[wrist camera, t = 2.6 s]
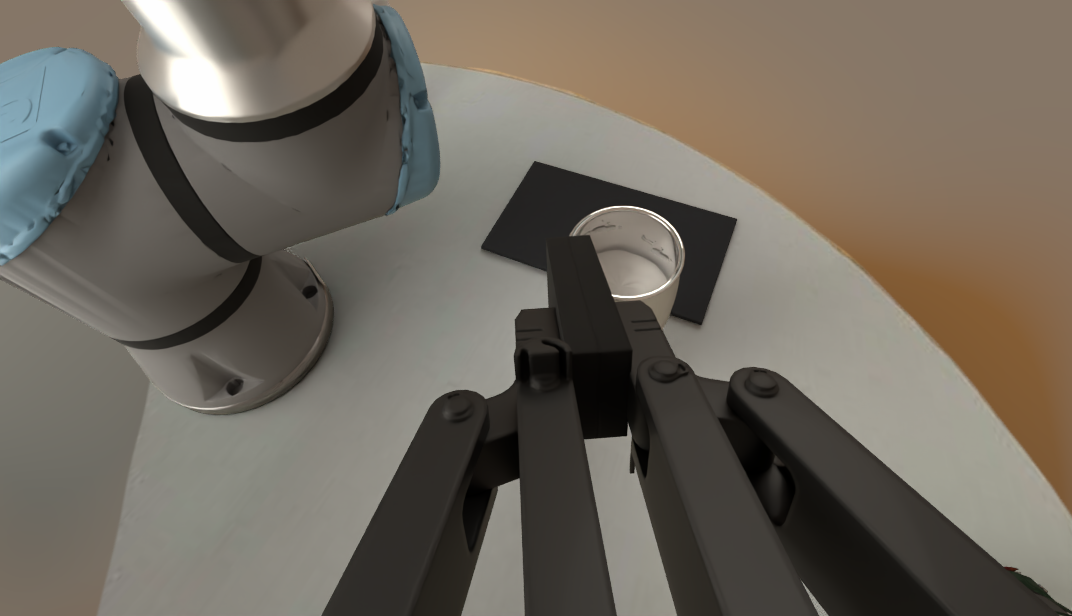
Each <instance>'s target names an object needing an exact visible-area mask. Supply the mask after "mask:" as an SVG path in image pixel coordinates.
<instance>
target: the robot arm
mask: <svg viewBox="0 0 1072 616" xmlns="http://www.w3.org/2000/svg"><path fill="white" fill-rule="evenodd" d="M121 2H122V3H123V4H124V5H125V6H126V8H127V9H128V10H129V11H130V13H131V14H132V15H133V16H134V18H135V19H136V20H137V21H138V22H139V24H140V25H141V29H140V34H139V38H138V42H137V63H138V67H139V70H140V73H141V74H139V75H136V76H132V77H129V78H124V79H118V77H117V76H116V74H115V71H114V70H113V69H112V67H111V66H110V65H108V64H107V63H105V62H103V61H101V60H99V59H98V58H96V57H95V56H93V55H92V54H90V53H88V52H86V51H84V50H81V49H77V48H69V49H66V48H60V47H52V48H45V49H39V50H36V51H33V52H29V53H26V54H23V55H20V56H18V57H15V58H13V59H10V60H8V61H6V62H4V63H1V64H0V280H2V281H4V282H6V283H8V284H10V285H12V286H13V287H15V288H17V289H19V290H21V291H23V292H25V293H27V294H29V295H30V296H32V297H34V298H36V299H38V300H40V301H42V302H44V303H46V304H48V305H49V306H51V307H53V308H55V309H57V310H59V311H61V312H63V313H65V314H67V315H68V316H70V317H72V318H74V319H76V320H78V321H80V322H82V323H84V324H86V325H87V326H89V327H91V328H93V329H95V330H97V331H99V332H101V333H103V334H105V335H107V336H109V337H111V338H112V339H114V340H116V341H118V342H120V343H121V344H123V345H124V346H125V347H126V349H127V350H128V351H129V353H130V354H131V355H132V357H133V358H134V359H135V361H136V362H137V363H138V365H139V366H140V367H141V369H142V370H143V371H144V373H145V374H146V376H147V377H148V378H149V380H150V381H151V382H152V383H153V385H154V386H155V387H156V388H157V389H158V390H159V391H160V392H161V393H162V394H164V395H165V396H166V397H167V398H169V399H170V400H172V401H174V402H176V403H178V404H180V405H182V406H184V407H186V408H189V409H191V410H193V411H196V412H200V413H205V414H213V415H226V414H234V413H239V412H244V411H247V410H250V409H254V408H256V407H259V406H261V405H264V404H266V403H268V402H270V401H272V400H273V399H275V398H277V397H279V396H280V395H282V394H283V393H285V392H286V391H288V390H289V389H290V388H291V387H293V386H294V385H295V384H296V383H298V382H299V381H300V380H301V379H302V378H303V377H304V376H305V375H306V374H307V373H308V371H309V370H310V369H311V368H312V367H313V365H314V364H315V363H316V361H317V360H318V358H319V357H320V355H321V354H322V352H323V350H324V348H325V346H326V344H327V342H328V339H329V337H330V334H331V330H332V326H333V318H334V307H333V301H332V297H331V294H330V291H329V289H328V287H327V286H326V284H325V283H324V281H323V280H322V279H321V277H320V276H319V275H318V273H317V272H316V270H315V269H314V267H313V266H312V264H311V262H309V261H308V260H307V259H306V258H305V257H304V258H305V259H306V261H307V262H308V264H307V263H306V262H305V261H303V260H302V259H300V258H299V257H297V256H295V255H293V254H292V253H290V252H288V251H286V250H284V248H287V247H290V246H293V245H296V244H299V243H302V242H305V241H308V240H311V239H314V238H317V237H320V236H323V235H326V234H329V233H332V232H335V231H338V230H341V229H344V228H348V227H351V226H354V225H357V224H360V223H363V222H366V221H369V220H372V219H375V218H378V217H381V216H384V215H386V216H387V215H391V214H393V213H394V212H396V211H397V210H398V209H399V208H400V207H403V206H405V205H408V204H410V203H412V202H415V201H417V200H420V199H422V198H424V197H426V196H428V195H429V194H430V193H431V192H432V191H433V190H434V188H435V187H436V185H437V182H438V180H439V175H440V151H439V143H438V136H437V130H436V124H435V120H434V115H433V111H432V108H431V105H430V103H429V101H428V100H427V96H428V95H427V89H426V84H425V79H424V75H423V71H422V68H421V65H420V62H419V58H418V55H417V53H416V50H415V47H414V44H413V42H412V39H411V36H410V34H409V32H408V30H407V28H406V26H405V24H404V22H403V20H402V18H401V16H400V15H399V14H398V12H397V11H396V10H395V9H393V8H392V7H390V6H379V5H375V4H372V1H371V0H121ZM546 256H547V280H548V305H549V308H538V309H524V310H521V311H520V313H519V314H518V316H517V317H516V319H515V332H516V333H515V334H516V350H515V353H514V363H515V375H516V380H515V382H514V383H513V385H512V386H511V387H510V388H509V389H508V390H506V391H505V392H503V393H501V394H499V395H496V396H494V397H491V398H488V399H485V398H484V397H483V396H481V395H480V394H478V393H477V392H473V391H469V390H456V391H452V392H449V393H446V394H444V395H442V396H441V397H439V398H438V399H436V400H435V401H434V403H433V404H432V405H431V406H430V408H429V410H428V412H427V414H426V415H425V417H424V419H423V421H422V423H421V425H420V427H419V429H418V431H417V433H416V435H415V437H414V439H413V440H412V442H411V444H410V446H409V448H408V450H407V452H406V454H405V456H404V458H403V460H402V462H401V464H400V466H399V467H398V469H397V471H396V473H395V475H394V477H393V479H392V481H391V483H390V485H389V487H388V489H387V491H386V492H385V494H384V496H383V498H382V500H381V502H380V504H379V506H378V508H377V510H376V512H375V514H374V516H373V517H372V519H371V521H370V523H369V525H368V527H367V529H366V531H365V533H364V535H363V537H362V539H361V541H360V543H359V544H358V546H357V548H356V550H355V552H354V554H353V556H352V558H351V560H350V562H349V564H348V566H347V568H346V569H345V571H344V573H343V575H342V577H341V579H340V581H339V583H338V585H337V587H336V589H335V591H334V593H333V595H332V596H331V598H330V600H329V602H328V604H327V606H326V608H325V610H324V612H323V614H322V616H461V614H462V611H463V607H464V604H465V600H466V597H467V594H468V590H469V587H470V583H471V580H472V577H473V573H474V570H475V566H476V563H477V559H478V556H479V553H480V549H481V546H482V542H483V539H484V536H485V532H486V529H487V525H488V522H489V519H490V515H491V512H492V508H493V505H494V502H495V498H496V495H497V491H498V486H500V485H503V484H505V483H508V482H510V481H513V480H516V479H518V478H520V495H521V522H522V548H523V575H524V602H525V616H617V614H616V609H615V603H614V598H613V593H612V587H611V582H610V577H609V571H608V566H607V561H606V556H605V550H604V545H603V540H602V534H601V529H600V524H599V518H598V513H597V508H596V502H595V497H594V492H593V486H592V481H591V476H590V470H589V465H588V460H587V454H586V449H585V444H584V439H594V438H607V437H620V436H627V428H628V423H629V427H630V430H631V433H632V441H631V455H630V473H634V470H635V467H636V470H637V474H638V478H639V481H640V485H641V488H642V492H643V495H644V499H645V502H646V506H647V509H648V513H649V517H650V520H651V524H652V527H653V531H654V534H655V538H656V541H657V545H658V549H659V552H660V556H661V559H662V563H663V566H664V570H665V573H666V577H667V581H668V584H669V588H670V591H671V595H672V598H673V602H674V605H675V609H676V612H677V616H819V615H818V613H817V611H816V609H815V607H814V605H813V603H812V601H811V599H810V597H809V595H808V593H807V591H806V589H805V588H804V586H803V584H802V582H803V583H804V584H805V586H806V587H807V588H808V589H809V591H810V592H811V593H812V595H813V596H814V597H815V598H816V600H817V601H818V602H819V604H820V605H821V606H822V608H823V609H824V610H825V611H826V613H827V614H828V615H829V616H1060V615H1059V614H1057V613H1056V612H1055V611H1054V610H1053V609H1052V608H1050V607H1049V606H1048V605H1047V604H1046V603H1045V602H1044V601H1042V600H1041V599H1040V598H1039V597H1038V596H1037V595H1035V594H1034V593H1033V592H1032V591H1031V590H1030V589H1029V588H1027V587H1026V586H1025V585H1024V584H1023V583H1022V582H1020V581H1019V580H1018V579H1017V578H1016V577H1015V576H1013V575H1012V574H1011V573H1010V572H1009V571H1008V570H1007V569H1005V568H1004V567H1003V566H1002V565H1001V564H1000V563H998V562H997V561H996V560H995V559H994V558H993V557H992V556H990V555H989V554H988V553H987V552H986V551H985V550H983V549H982V548H981V547H980V546H979V545H978V544H976V543H975V542H974V541H973V540H972V539H971V538H970V537H968V536H967V535H966V534H965V533H964V532H963V531H961V530H960V529H959V528H958V527H957V526H956V525H954V524H953V523H952V522H951V521H950V520H949V519H948V518H946V517H945V516H944V515H943V514H942V513H941V512H939V511H938V510H937V509H936V508H935V507H934V506H933V505H931V504H930V503H929V502H928V501H927V500H926V499H924V498H923V497H922V496H921V495H920V494H919V493H917V492H916V491H915V490H914V489H913V488H912V487H911V486H909V485H908V484H907V483H906V482H905V481H904V480H902V479H901V478H900V477H899V476H898V475H897V474H896V473H894V472H893V471H892V470H891V469H890V468H889V467H887V466H886V465H885V464H884V463H883V462H882V461H880V460H879V459H878V458H877V457H876V456H875V455H874V454H872V453H871V452H870V451H869V450H868V449H867V448H865V447H864V446H863V445H862V444H861V443H860V442H859V441H857V440H856V439H855V438H854V437H853V436H852V435H850V434H849V433H848V432H847V431H846V430H845V429H843V428H842V427H841V426H840V425H839V424H838V423H837V422H835V421H834V420H833V419H832V418H831V417H830V416H828V415H827V414H826V413H825V412H824V411H823V410H822V409H820V408H819V407H818V406H817V405H816V404H815V403H813V402H812V401H811V400H810V399H809V398H808V397H806V396H805V395H804V394H803V393H802V392H801V391H800V390H798V389H797V388H796V387H795V386H794V385H793V384H791V383H790V382H789V381H788V380H787V379H785V378H784V377H782V376H781V375H779V374H778V373H776V372H773V371H770V370H767V369H764V368H757V367H749V368H742V369H740V370H738V371H735V372H734V373H733V375H732V376H731V378H730V382H727V381H720V380H713V379H708V378H703V377H700V376H697V375H695V373H694V371H693V370H692V369H691V367H690V366H689V365H688V364H687V363H685V362H684V361H682V360H680V359H678V358H676V357H675V355H674V353H673V351H672V349H671V347H670V345H669V343H668V341H667V339H666V337H665V335H664V332H663V330H661V326H660V324H659V322H658V321H657V318H656V316H655V314H654V312H653V310H652V308H650V307H649V306H648V305H646V304H645V303H644V302H642V301H641V300H635V301H621V302H615V301H614V298H613V296H612V293H611V290H610V288H609V285H608V282H607V280H606V277H605V274H604V272H603V269H602V266H601V264H600V261H599V258H598V256H597V253H596V250H595V248H594V245H593V242H592V240H591V237H590V235H581V236H566V237H551V238H546ZM800 579H801V580H802V582H801V580H800Z"/></svg>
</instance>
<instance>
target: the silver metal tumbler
mask: <svg viewBox="0 0 1072 616" xmlns="http://www.w3.org/2000/svg"><path fill="white" fill-rule="evenodd" d="M581 235H590V237H591V240H592V242H593V245H594V248H595V250H596V253H597V256H598V258H599V261H600V264H601V266H602V269H603V272H604V274H605V277H606V280H607V282H608V285H609V288H610V290H611V293H612V296H613V298H614V301H615V302H621V301H635V300H641V301H642V302H644V303H645V304H646V305H648V306H649V307H650V308H652V310H653V312H654V314H655V316H656V318H657V321H658V322H659V324H660V326H661V330H662V329H663V328H664V326H665V325H666V323H667V321H668V319H669V316H670V314H671V312H672V309H673V307H674V303H675V300H676V296H677V293H678V288H679V283H680V278H681V272H682V269H683V266H684V261H685V250H684V245H683V242H682V240H681V237H680V236H679V234H678V232H677V231H676V230H675V228H674V227H673V226H672V225H671V224H670V223H669V222H668V221H667V220H665V219H664V218H663V217H661V216H659V215H658V214H656V213H654V212H652V211H649V210H646V209H643V208H639V207H634V206H612V207H607V208H603V209H600V210H597V211H595V212H593V213H591V214H589V215H588V216H586V217H585V218H583V219H582V220H581V221H580V222H579V223H578V224H577V225H576V226H575V227H574V229H573V230H572V232H571V234H570V236H581Z"/></svg>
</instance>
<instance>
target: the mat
mask: <svg viewBox="0 0 1072 616" xmlns="http://www.w3.org/2000/svg"><path fill="white" fill-rule="evenodd" d="M612 206H634V207H639V208H643V209H646V210H649V211H652V212H654V213H656V214H658V215H659V216H661V217H663V218H664V219H665V220H667V221H668V222H669V223H670V224H671V225H672V226H673V227H674V228H675V230H676V231H677V232H678V234H679V236H680V237H681V240H682V242H683V245H684V250H685V261H684V266H683V269H682V272H681V278H680V283H679V288H678V293H677V296H676V300H675V303H674V307H673V309H672V312H671V315H674V316H676V317H679V318H682V319H685V320H688V321H691V322H694V323H697V324H699V325H701V324H702V322H703V319H704V316H705V313H706V310H707V307H708V304H709V301H710V298H711V295H712V292H713V289H714V286H715V283H716V280H717V277H718V275H719V272H720V269H721V266H722V263H723V260H724V257H725V254H726V251H727V248H728V245H729V242H730V239H731V236H732V233H733V230H734V227H735V224H736V221H737V219H735V218H732V217H728V216H725V215H721V214H718V213H714V212H711V211H707V210H704V209H700V208H697V207H693V206H690V205H686V204H683V203H679V202H676V201H672V200H669V199H665V198H662V197H658V196H655V195H651V194H648V193H645V192H641V191H638V190H634V189H631V188H627V187H624V186H620V185H617V184H613V183H610V182H606V181H603V180H599V179H596V178H592V177H589V176H585V175H582V174H578V173H575V172H571V171H568V170H564V169H561V168H557V167H554V166H550V165H547V164H543V163H540V162H536V161H534V163H533V164H532V166H531V168H530V169H529V171H528V172H527V174H526V176H525V177H524V179H523V180H522V182H521V184H520V185H519V187H518V188H517V190H516V192H515V193H514V195H513V196H512V198H511V199H510V201H509V203H508V204H507V206H506V207H505V209H504V211H503V212H502V214H501V215H500V217H499V219H498V220H497V222H496V223H495V225H494V227H493V228H492V230H491V231H490V233H489V235H488V236H487V238H486V239H485V241H484V243H483V244H482V246H481V248H482V249H484V250H487V251H490V252H493V253H495V254H498V255H501V256H504V257H507V258H510V259H513V260H516V261H518V262H521V263H524V264H527V265H530V266H533V267H536V268H539V269H541V270H544V271H547V256H546V238H551V237H566V236H570V234H571V232H572V230H573V229H574V227H575V226H576V225H577V224H578V223H579V222H580V221H581V220H582V219H583V218H585V217H586V216H588V215H589V214H591V213H593V212H595V211H597V210H600V209H603V208H607V207H612Z"/></svg>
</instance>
